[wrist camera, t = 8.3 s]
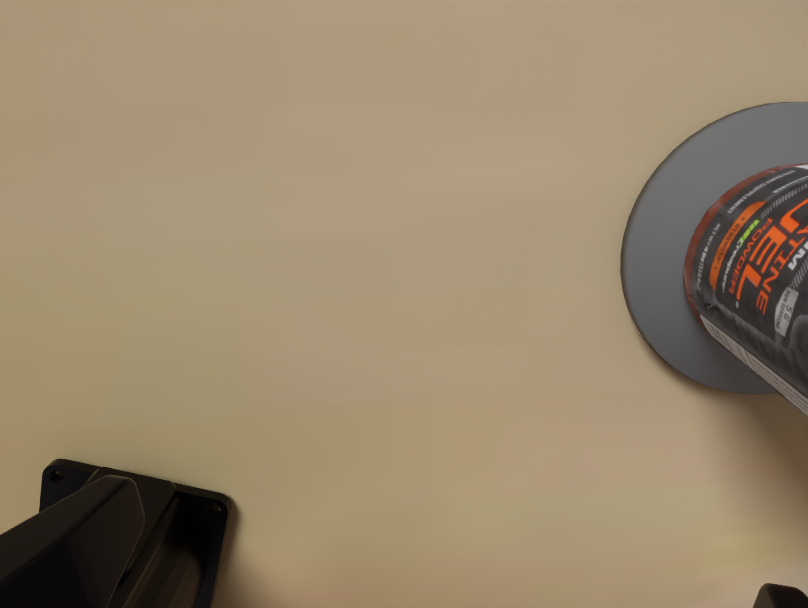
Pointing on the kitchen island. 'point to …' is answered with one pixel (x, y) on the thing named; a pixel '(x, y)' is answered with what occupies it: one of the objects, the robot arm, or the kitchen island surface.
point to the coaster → (676, 222)
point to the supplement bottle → (757, 277)
